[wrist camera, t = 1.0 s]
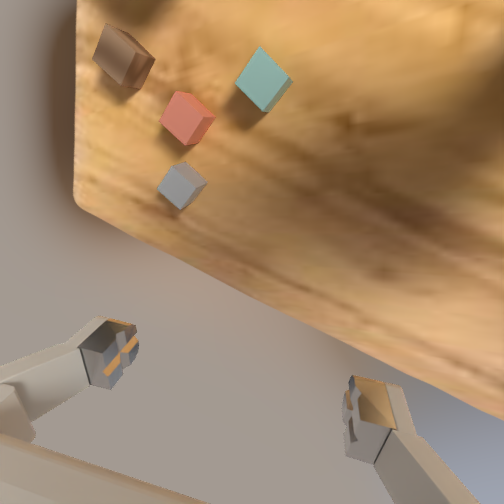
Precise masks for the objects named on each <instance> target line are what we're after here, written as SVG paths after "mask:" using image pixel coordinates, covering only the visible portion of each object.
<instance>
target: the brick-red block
mask: <svg viewBox="0 0 504 504" xmlns="http://www.w3.org/2000/svg"><path fill="white" fill-rule="evenodd" d="M215 118H216V117H215V116H214V115H213V114H212V113H211V112H210V111H209V110H208V109H207V108H206V107H205V106H204V105H202V104H201V103H200V102H199V101H198V100H197V99H196V98H195V97H194V96H193V95H192V94H191V93H185V92H180V91H175V93H174V95H173V97H172V98H171V100H170V102H169V104H168V106H167V107H166V109H165V111H164V113H163V115H162V116H161V118H160V120H159V122H160V123H161V124H162V125H163V126H164V127H165V128H167V129H168V130H169V131H170V132H171V133H172V134H173V135H174V136H175V137H176V138H177V139H178V140H179V141H181V142H182V143H183V144H184V145H185V146H186V145H191V144H196V143H199V141H200V140H201V138H202V137H203V135H204V134H205V133H206V131H207V130H208V128H209V127H210V125H211V124H212V122H213V121H214V119H215Z"/></svg>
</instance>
